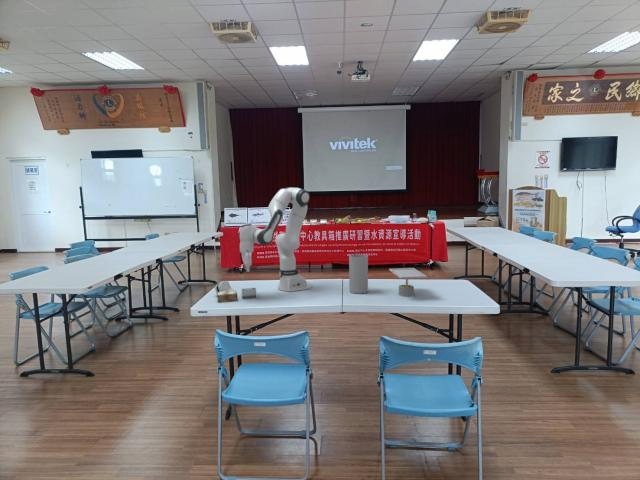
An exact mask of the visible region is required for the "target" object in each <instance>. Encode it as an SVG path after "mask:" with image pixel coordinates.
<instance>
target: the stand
mask: <svg viewBox="0 0 640 480" xmlns="http://www.w3.org/2000/svg"><path fill="white" fill-rule="evenodd" d="M233 290H234V289H233ZM216 296H217V302H218V303H227V302H238V301H239V300H238V299H239V298H238V292H237V290H234V291H223V292H217V293H216Z"/></svg>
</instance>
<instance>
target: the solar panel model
mask: <svg viewBox="0 0 640 480" xmlns="http://www.w3.org/2000/svg"><path fill="white" fill-rule="evenodd" d="M388 271H390V272H391V273H392V274H393V275H395V276H396V277H397V278H399V279H400V280H401V279H403V280H404V279H405V284H399V285H398V295H399V296H401V297H405V298H410V297H413V296H414V295H415V292H414V291H415V286H414V285H411V284H409V279H423V278H424V279H426V278H428V276H427V275H426V274H424V273H422V272H421V271H420V270H417V269H416V268H414V267H403V268H402V267H401V268H399V267H398V268H388Z"/></svg>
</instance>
